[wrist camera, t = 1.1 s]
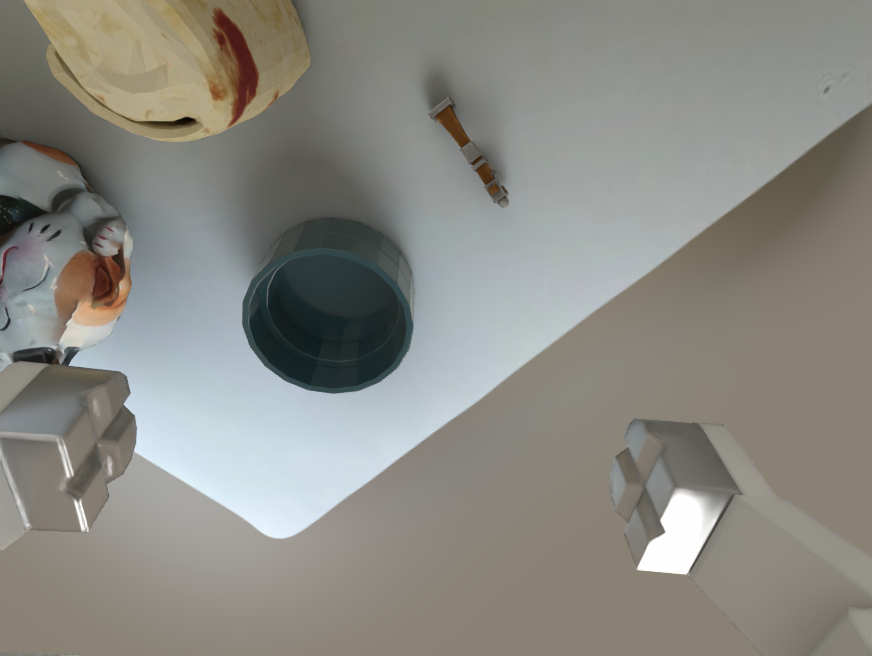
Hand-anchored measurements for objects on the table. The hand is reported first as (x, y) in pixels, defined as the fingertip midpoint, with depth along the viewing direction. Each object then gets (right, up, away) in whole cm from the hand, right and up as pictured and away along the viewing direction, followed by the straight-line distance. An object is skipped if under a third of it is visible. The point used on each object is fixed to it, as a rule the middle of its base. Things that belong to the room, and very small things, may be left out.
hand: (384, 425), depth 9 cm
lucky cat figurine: (-27, +10, +34) cm, 45 cm away
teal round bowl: (-7, +5, +37) cm, 38 cm away
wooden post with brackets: (+4, +15, +32) cm, 35 cm away
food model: (-11, +22, +27) cm, 36 cm away
